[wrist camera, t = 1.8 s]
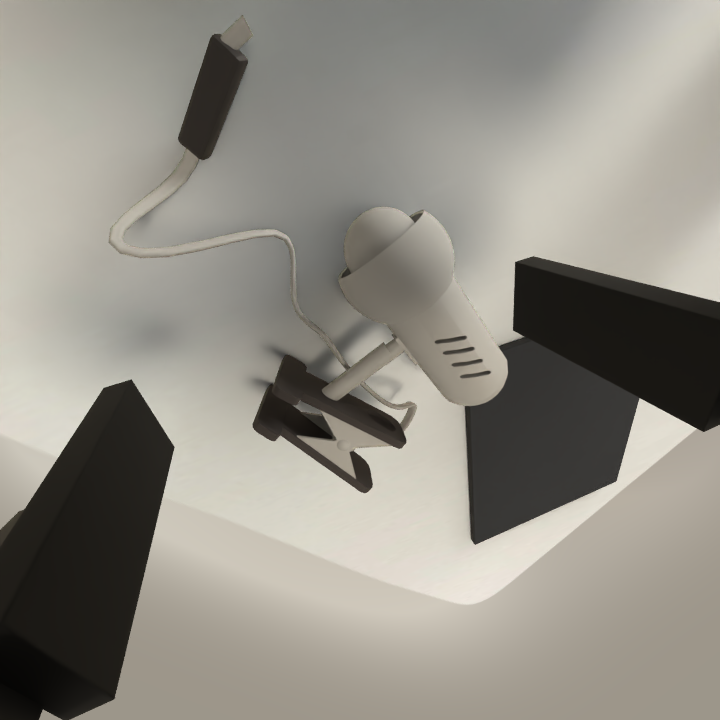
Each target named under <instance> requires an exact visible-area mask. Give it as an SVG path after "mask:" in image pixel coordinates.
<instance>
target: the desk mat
mask: <svg viewBox="0 0 720 720" xmlns="http://www.w3.org/2000/svg"><path fill="white" fill-rule="evenodd" d="M499 348H500V350H501V351H502V353H503V355H504V356H505V358H506V359H507V366H508V375H507V378H506V381H505V384H504V386H503V388H502V389H501V390H500V392H499V393H498V394H497V395H496V396H495V397H494V398H493V399H491V400H489V401H487V402H486V403H483V404H480V405H475V406H466V423H467V446H468V469H469V491H470V514H471V537H472V541H473V543H474V544H475V545H476V544H478V543H480V542H482V541H485V540H487V539H489V538H491V537H494V536H496V535H498V534H500V533H502V532H505V531H507V530H509V529H511V528H514V527H516V526H518V525H520V524H522V523H525V522H527V521H529V520H531V519H534V518H536V517H538V516H540V515H542V514H545V513H547V512H549V511H551V510H554V509H556V508H558V507H560V506H563V505H565V504H567V503H569V502H571V501H574V500H576V499H578V498H580V497H583V496H585V495H587V494H589V493H591V492H594V491H596V490H598V489H600V488H603V487H605V486H607V485H609V484H611V483H614V482H616V481H617V477H618V473H619V470H620V466H621V463H622V459H623V455H624V452H625V448H626V444H627V441H628V437H629V434H630V430H631V426H632V423H633V419H634V416H635V412H636V408H637V405H638V401H639V397H637V396H635V395H633V394H631V393H630V392H628V391H626V390H624V389H622V388H620V387H618V386H616V385H615V384H613V383H611V382H609V381H607V380H605V379H603V378H601V377H600V376H598V375H596V374H594V373H592V372H590V371H588V370H586V369H585V368H583V367H581V366H579V365H577V364H575V363H573V362H571V361H570V360H568V359H566V358H564V357H562V356H560V355H558V354H556V353H555V352H553V351H551V350H549V349H547V348H545V347H543V346H541V345H540V344H538V343H536V342H534V341H532V340H530V339H528V338H523V339H520V340H517V341H514V342H511V343H508V344H505V345H502V346H500V347H499Z"/></svg>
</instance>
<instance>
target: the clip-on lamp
mask: <svg viewBox="0 0 720 720" xmlns="http://www.w3.org/2000/svg"><path fill="white" fill-rule="evenodd" d="M251 37H253V34H252V32H251V30H250V28H249V26H248V24H247V22H246V20H245V18H244V16H243V15H242V16H241V17H240V18H239V19H238V20H237V21H236V22H235V23H234V24H233V25H232V26H231V27H229V28H228V29H227V30H226V31H225V32H224V33H223V34H222V35H221V34H214V35H212V37H211V38H210V41H209V44H208V47H207V50H206V53H205V56H204V60H203V63H202V66H201V69H200V72H199V75H198V78H197V81H196V84H195V87H194V90H193V93H192V97H191V100H190V103H189V106H188V109H187V112H186V115H185V118H184V121H183V124H182V127H181V131H180V134H179V137H178V140H179V142H180V143H181V144H182V145H183V146H184V147H186V150H185V152H184V155H183V158H182V159H181V161H180V162H179V164H178V165H177V167H176V168H175V170H174V172H173V173H172V174H171V175H170V176H169V177H168V178H167V179H166V180H165V181H164V182H163V183H162V184H161V185H160V186H159V187H157V188H156V189H155V190H153V191H152V192H151V193H150V194H148V195H147V196H146V197H144V198H143V199H142V200H141V201H139V202H138V203H137V204H135V205H134V206H133V207H132V208H130V209H129V210H128V211H127V212H125V213H124V214H123V215H122V216H121V217H120V218H119V219H118V221H117V222H116V223H115V224H114V225H113V226H112V227H111V228H110V236H109V243H110V244H111V245H112V246H113V247H114V248H115V249H116V250H117V251H118V252H119V253H121V254H125V255H129V256H134V257H138V258H156V257H171V256H176V255H181V254H187V253H192V252H197V251H202V250H206V249H210V248H214V247H218V246H222V245H226V244H230V243H234V242H239V241H243V240H248V239H252V238H259V237H271V236H274V237H277V238H279V239H282V240H284V241H285V243H286V245H287V246H288V248H289V252H290V259H291V298H292V304H293V307H294V309H295V312H296V313H297V315H298V316H299V318H300V319H301V320H302V321H303V322H304V323H305V324H306V325H308V326H309V327H310V328H312V329H313V330H314V331H315V332H317V333H318V334H319V335H320V336H321V337H322V338H323V339H324V341H325V342H326V343H327V345H328V346H329V348H330V349H331V350H332V352H333V353H334V355H335V356H336V358H337V359H338V360H339V362H340V363H341V364H342V365H343V366H344V368H345V369H346V370H347V371H345V372H344V373H343V374H341V375H340V376H339V377H338V378H336V379H335V380H334V381H332V382H331V383H330V384H329V383H327V382H326V381H324V380H322V379H320V378H318V377H316V376H314V375H312V374H310V373H308V372H306V368H307V367H306V366H305V364H303V363H302V362H300V361H299V360H297V359H295V358H293V357H292V356H290V355H285V357H284V358H283V360H282V362H281V365H280V368H279V371H278V373H277V376H276V379H275V382H274V385H273V384H271V385H270V386H269V387H268V388H267V389H266V391H265V394H264V396H263V399H262V401H261V404H260V407H259V409H258V412H257V414H256V417H255V419H254V422H253V428H254V430H255V431H256V432H258V433H259V434H261V435H262V436H264V437H266V438H267V439H269V440H271V441H276V439H277V438H278V437H279V436H280V435H281V436H282V437H284V438H285V439H286V440H288V441H289V442H291V443H292V444H294V445H295V446H296V447H298V448H299V449H301V450H302V451H303V452H305V453H306V454H308V455H309V456H311V457H312V458H313V459H315V460H316V461H318V462H319V463H320V464H322V465H323V466H325V467H326V468H328V469H329V470H330V471H332V472H333V473H335V474H336V475H337V476H339V477H340V478H342V479H343V480H345V481H346V482H347V483H349V484H350V485H352V486H353V487H354V488H356V489H357V490H359V491H360V492H363V493H367V492H368V491H369V490H370V489H371V488H372V485H373V483H372V478H371V472H370V468H369V465H368V464H367V462H366V461H365V460H364V459H363V458H362V457H361V456H359V455H358V454H357V453H355V452H354V451H353V450H355V448H365V447H381V446H393V447H396V448H398V449H400V448H402V447H403V446H404V445H405V444H406V438H405V435H404V431H405V430H406V428H407V427H408V426H409V424H410V422H411V421H412V419H413V417H414V415H415V412H416V409H417V405H416V404H415V403H412V402H406V403H404V404H399V405H396V404H392V403H390V402H388V401H386V400H384V399H383V398H381V397H380V396H379V395H377V394H376V393H375V392H374V391H373V390H372V389H370V388H369V387H368V386H367V385H366V384H365V383H364V382H363V381H365V380H366V379H367V378H369V377H370V376H371V375H373V374H374V373H375V372H377V371H378V370H379V369H381V368H382V367H383V366H385V365H387V364H388V363H389V362H391V361H392V360H393V359H395V358H396V357H397V356H399V355H400V354H401V353H403V352H404V351H405V352H406V354H407V355H408V356H409V357H410V359H411V360H412V361H413V362H414V364H415V365H417V364H418V365H419V366H420V367H421V369H422V370H423V371H424V372H425V374H426V375H427V376H428V377H429V379H430V380H431V381H432V382H433V384H434V385H435V386H436V387H437V389H438V390H439V391H440V392H441V394H442V395H443V396H444V397H445V398H446V399H447V400H448V401H450V402H452V403H455V404H459V405H463V406H475V405H480V404H483V403H486V402H487V401H489V400H491V399H493V398H494V397H495V396H496V395H497V394H498V393H499V392H500V390H501V389H502V388H503V386H504V384H505V381H506V378H507V375H508V366H507V359H506V358H505V356H504V355H503V353H502V351H501V350H500V348H499V347H498V345H497V344H496V342H495V340H494V339H493V337H492V336H491V334H490V333H489V331H488V329H487V328H486V326H485V325H484V323H483V321H482V320H481V318H480V317H479V315H478V314H477V312H476V310H475V309H474V307H473V306H472V304H471V302H470V301H469V299H468V298H467V296H466V295H465V293H464V291H463V290H462V288H461V287H460V285H459V284H458V282H457V280H456V279H455V277H454V276H453V272H454V265H455V257H454V250H453V246H452V243H451V239H450V237H449V235H448V234H447V232H446V230H445V229H444V227H443V226H442V225H441V223H440V222H439V221H438V220H437V219H436V218H435V217H433V216H432V215H431V214H429V213H428V212H426V211H425V210H421V211H418V212H416V213H414V214H413V215H411V216H408V215H406V214H405V213H403V212H402V211H400V210H397V209H395V208H391V207H376V208H373V209H370V210H368V211H366V212H364V213H362V214H361V215H360V216H358V217H357V218H356V219H355V220H354V222H353V223H352V224H351V226H350V227H349V229H348V231H347V234H346V237H345V241H344V257H345V261H346V264H347V267H346V268H345V269H344V270H343V271H342V273H341V274H340V275H339V277H338V280H339V284H340V287H341V289H342V292H343V294H344V296H345V297H346V299H347V300H348V302H349V303H350V304H351V305H352V306H353V307H354V308H355V309H356V310H357V311H358V312H360V313H361V314H362V315H364V316H366V317H367V318H369V319H371V320H373V321H376V322H379V323H382V324H386V325H387V326H388V327H389V329H390V330H391V331H392V332H393V334H392V336H393V337H394V339H393V340H391V341H390V342H389V343H388V344H386V345H385V344H384V343H382V344H381V345H379V346H378V347H377V348H376V349H374V350H373V351H372V352H370V353H369V354H368V355H366V356H365V357H364V358H362V359H361V360H360V361H358V362H357V363H356V364H355V365H353V366H352V367H351V368H350V366H349V365H348V364H347V363H346V361H345V360H344V359H343V357H342V356H341V354H340V353H339V351H338V350H337V348H336V347H335V345H334V344H333V342H332V341H331V340H330V338H329V337H328V336H327V335H326V334H325V333H324V332H323V331H322V330H321V329H320V328H319V327H318V326H316V325H315V324H314V323H312V322H311V321H310V320H309V319H308V318H307V317H305V316H304V314H303V313H302V312H301V310H300V308H299V305H298V301H297V293H296V257H295V251H294V246H293V244H292V243H291V241H290V239H289V237H288V236H287V235H285V234H283V233H281V232H280V231H278V230H269V229H256V230H250V231H245V232H239V233H233V234H228V235H224V236H219V237H215V238H211V239H206V240H202V241H197V242H192V243H187V244H182V245H177V246H172V247H159V248H140V247H134V246H128V245H127V244H126V243H125V242H124V241H123V238H124V235H125V232H126V230H127V229H129V228H130V227H131V226H132V225H133V224H134V223H135V222H136V221H137V220H138V219H139V218H141V217H142V216H144V215H145V214H146V213H148V212H149V211H150V210H152V209H153V208H155V207H156V206H157V205H159V204H160V203H161V202H163V201H164V200H165V199H167V198H168V197H169V196H171V195H172V194H173V193H174V192H175V191H176V190H177V189H178V188H179V187H181V186H182V185H183V184H184V183H185V182H186V181H187V179H188V178H189V176H190V175H191V173H192V172H193V170H194V169H195V167H196V165H197V163H198V160H199V159H201V160H205V159H207V158H209V157H210V156H211V154H212V152H213V149H214V147H215V144H216V142H217V139H218V137H219V134H220V132H221V129H222V127H223V124H224V122H225V119H226V116H227V114H228V111H229V109H230V106H231V104H232V101H233V99H234V96H235V94H236V91H237V89H238V86H239V84H240V81H241V79H242V76H243V74H244V71H245V69H246V66H247V64H248V60H247V58H246V56H245V55H243V54H242V53H241V52H240V51H239V50H238V49H239V48H241V47H242V46H243V45H244V44H245V43H246V42H247V41H248V40H249V39H250V38H251ZM359 384H360V385H361V386H362V387H363V388H364V389H365V390H366V391H367V392H369V393H370V394H371V395H372V396H373V397H374V398H376V399H377V400H378V401H380V402H381V403H383V404H384V405H386V406H388V407H390V408H393V409H397V410H400V409H407V408H408V410H407V413H406V415H405V417H404V419H403V420H402V422H401V423H400V424H399V422H398V421H397V420H396V419H394V418H393V417H392V416H390V415H388V414H387V413H385V412H383V411H381V410H379V409H377V408H375V407H373V406H371V405H369V404H367V403H366V402H364V401H362V400H360V399H358V398H356V397H354V396H352V395H350V394H348V393H349V392H350V391H351V390H353V389H354V388H355V387H357V386H358V385H359ZM300 400H301V401H303V402H305V403H307V404H309V405H311V406H313V407H315V408H317V409H319V410H320V411H321V412H322V414H323V415H322V414H314V413H307V412H301V411H299V410H298V409H297V408H295V407H294V406H293V405H297V404H298V402H299V401H300Z"/></svg>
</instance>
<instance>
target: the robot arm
mask: <svg viewBox="0 0 720 720" xmlns="http://www.w3.org/2000/svg"><path fill="white" fill-rule="evenodd" d="M513 331H515V332H517V333H519V334H521V335H523V336H525V337H526V338H528V339H530V340H532V341H534V342H536V343H538V344H540V345H541V346H543V347H545V348H547V349H549V350H551V351H553V352H555V353H556V354H558V355H560V356H562V357H564V358H566V359H568V360H570V361H571V362H573V363H575V364H577V365H579V366H581V367H583V368H585V369H586V370H588V371H590V372H592V373H594V374H596V375H598V376H600V377H601V378H603V379H605V380H607V381H609V382H611V383H613V384H615V385H616V386H618V387H620V388H622V389H624V390H626V391H628V392H630V393H631V394H633V395H635V396H637V397H639V398H641V399H643V400H645V401H646V402H648V403H650V404H652V405H654V406H656V407H658V408H660V409H661V410H663V411H665V412H667V413H669V414H671V415H673V416H675V417H676V418H678V419H680V420H682V421H684V422H686V423H688V424H690V425H691V426H693V427H695V428H697V429H699V430H701V431H703V432H705V431H707V430H709V429H711V428H713V427H716V426H718V425H720V302H716V301H712V300H708V299H704V298H700V297H696V296H692V295H688V294H684V293H680V292H675V291H671V290H667V289H663V288H659V287H655V286H651V285H647V284H643V283H639V282H635V281H631V280H627V279H623V278H619V277H615V276H611V275H607V274H603V273H599V272H595V271H590V270H586V269H582V268H578V267H574V266H570V265H566V264H562V263H558V262H554V261H550V260H546V259H542V258H538V257H534V256H533V257H530V258H527V259H523V260H520V261H517V262H515V288H514V317H513ZM173 451H174V446H173V444H172V443H171V441H170V439H169V438H168V436H167V435H166V433H165V432H164V430H163V428H162V427H161V425H160V424H159V422H158V420H157V419H156V417H155V416H154V414H153V413H152V411H151V409H150V408H149V406H148V405H147V403H146V402H145V400H144V398H143V397H142V395H141V394H140V392H139V390H138V389H137V387H136V386H135V384H134V383H133V381H132V379H131V380H128V381H125V382H122V383H118V384H115V385H112V386H109V387H105V388H103V390H102V391H101V393H100V395H99V396H98V398H97V399H96V401H95V402H94V404H93V405H92V407H91V408H90V410H89V411H88V413H87V414H86V416H85V418H84V419H83V421H82V422H81V424H80V425H79V427H78V428H77V430H76V431H75V433H74V434H73V436H72V437H71V439H70V441H69V442H68V444H67V445H66V447H65V448H64V450H63V451H62V453H61V454H60V456H59V457H58V459H57V460H56V462H55V464H54V465H53V467H52V468H51V470H50V471H49V473H48V474H47V476H46V477H45V479H44V481H43V482H42V483H41V485H40V487H39V488H38V490H37V491H36V493H35V494H34V496H33V497H32V499H31V500H30V502H29V503H28V505H27V506H26V508H25V509H24V510H22V511H19V512H18V513H17V514H16V515H15V516H14V517H13V518H12V519H11V520H10V521H9V522H8V523H7V524H6V525H5V526H4V527H3V528H2V529H1V530H0V720H39V718H40V715H41V712H42V710H43V709H44V710H45V711H47V712H49V713H51V714H53V715H55V716H57V717H59V718H61V719H62V720H69V719H72V718H74V717H76V716H79V715H81V714H83V713H85V712H87V711H90V710H92V709H94V708H96V707H98V706H101V705H103V704H105V703H107V702H109V701H112V700H113V699H114V698H115V694H116V690H117V686H118V681H119V677H120V673H121V668H122V665H123V661H124V657H125V652H126V648H127V644H128V640H129V635H130V631H131V627H132V623H133V618H134V614H135V610H136V606H137V602H138V598H139V594H140V589H141V585H142V581H143V577H144V572H145V568H146V564H147V560H148V556H149V552H150V547H151V543H152V539H153V535H154V530H155V527H156V522H157V518H158V514H159V509H160V505H161V501H162V497H163V493H164V489H165V485H166V481H167V476H168V472H169V468H170V464H171V460H172V455H173Z"/></svg>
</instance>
